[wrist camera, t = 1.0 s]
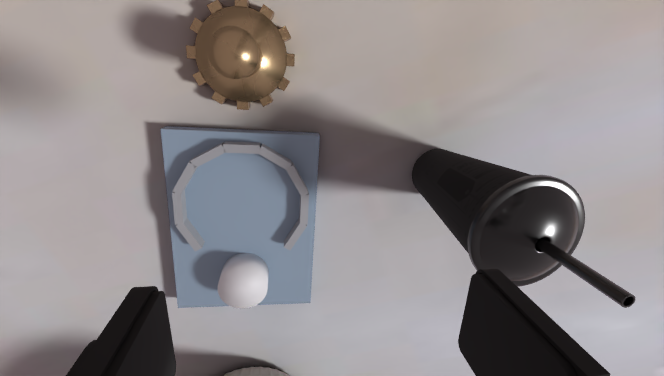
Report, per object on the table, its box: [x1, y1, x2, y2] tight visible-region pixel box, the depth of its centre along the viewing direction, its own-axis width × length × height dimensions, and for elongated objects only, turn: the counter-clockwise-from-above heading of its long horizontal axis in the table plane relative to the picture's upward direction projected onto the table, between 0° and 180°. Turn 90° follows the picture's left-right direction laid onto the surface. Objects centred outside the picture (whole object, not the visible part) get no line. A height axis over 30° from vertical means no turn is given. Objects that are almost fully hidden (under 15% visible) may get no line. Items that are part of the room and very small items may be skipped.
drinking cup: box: [412, 149, 635, 308], centre depth 24 cm, size 8×8×20 cm
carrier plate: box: [161, 126, 320, 309], centre depth 30 cm, size 18×13×4 cm
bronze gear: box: [186, 0, 295, 110], centre depth 24 cm, size 8×8×6 cm
